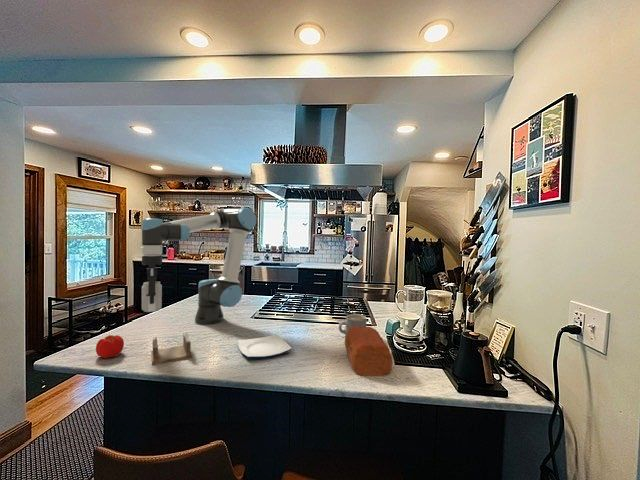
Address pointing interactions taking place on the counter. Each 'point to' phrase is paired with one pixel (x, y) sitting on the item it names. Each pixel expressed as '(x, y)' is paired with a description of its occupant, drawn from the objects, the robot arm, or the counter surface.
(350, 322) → the coffee mug
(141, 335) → the counter surface
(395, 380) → the counter surface
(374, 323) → the counter surface
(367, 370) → the bread
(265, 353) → the plate
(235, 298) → the robot arm
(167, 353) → the cradle holder
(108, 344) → the tomato
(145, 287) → the can
